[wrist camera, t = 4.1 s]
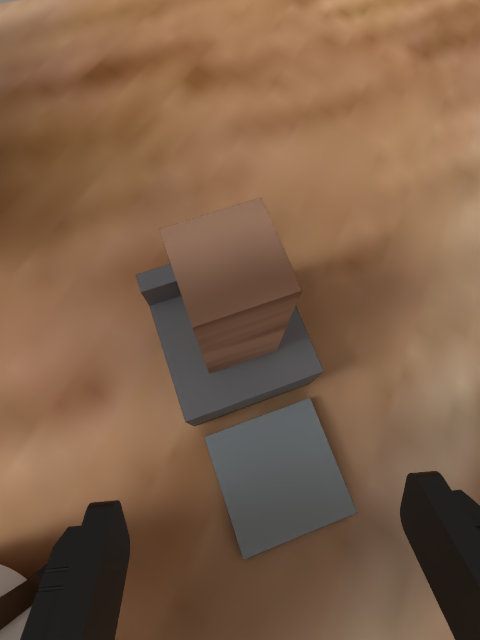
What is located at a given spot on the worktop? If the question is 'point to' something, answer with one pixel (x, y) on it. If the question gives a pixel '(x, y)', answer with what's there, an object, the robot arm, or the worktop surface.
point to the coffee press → (16, 601)
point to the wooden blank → (233, 282)
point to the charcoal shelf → (229, 383)
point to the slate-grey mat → (278, 477)
